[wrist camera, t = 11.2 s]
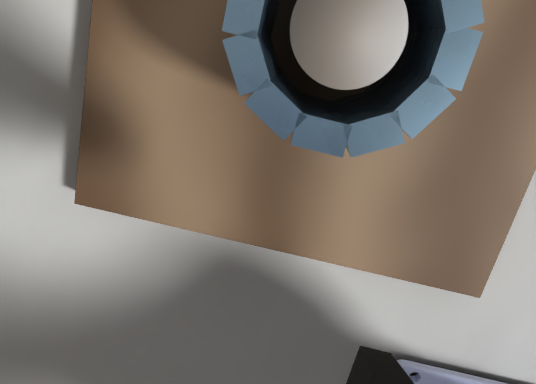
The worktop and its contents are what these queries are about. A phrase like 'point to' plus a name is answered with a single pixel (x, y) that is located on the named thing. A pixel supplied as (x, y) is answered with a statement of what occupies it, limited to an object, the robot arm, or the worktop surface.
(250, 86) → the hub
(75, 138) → the worktop surface
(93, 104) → the post board
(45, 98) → the worktop surface
